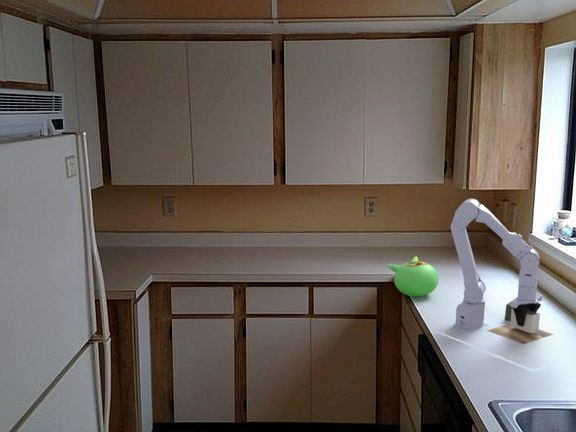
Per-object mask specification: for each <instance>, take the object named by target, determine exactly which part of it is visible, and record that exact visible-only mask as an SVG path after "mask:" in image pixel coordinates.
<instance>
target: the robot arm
mask: <svg viewBox="0 0 576 432" xmlns="http://www.w3.org/2000/svg"><path fill="white" fill-rule="evenodd" d="M474 220H475V222H478V223H483V224H485V225H486V226H488V228H490V229H491V230H492V231H493V232H494V233H496V235H497V236H499V237H500V238H501V239H502V246H503V247H504V248H505V249H507V250H508V252H510V253H511V255H513V256H514V257H515V258H516V259H518V260H519V264H520V270H519V277H518V287H517V288H518V289H517V296H516V297H515V298H514V299H512V300H510V301H509V302H510V307H512V309H513V311H514V313H515V317H516V321H517V325H519V326H522V327H523V326H524V323H525V318H526V314H527V312H528V310H530V311H533V312H536V313H538V310H539V309H540V308H541V307H542V305H541V303H540V302H542V301H543V295H542V294H540V293H537V290H538V278H539V273H538V271H539V265H540V254H539V252H538V251H537V249H535V248H533V246H532V245H530V244H528V243H527V242H526V241H525V240H524V239H523V236H522V235H521V233H516V232H511V231H509V230H508V229H507V228H506V227H505V226H504V225H503V223H501V221H500V220H499V219H498V218H497V217H496V216H495V215H494V214H493V213H492V212H491V211H490V210H489V209H488V208H487V207H485V205H483V204H481V203H480V201H478V199H475V198H467V199H465V200H464V201H463V202H462V203H461V204H460V205H459V206H458V207H457V209H456V210H455V212H454V216H453V219H452V222H451V224H450V230H451V234H452V239H453V243H454V245H455V250H456V253H457V257H458V261H459V263H460V268H461V273H462V275H463V286H464V291H463V299H462V302H460V303H459V304H458V305H457V306H456V310H455V311H456V312H455V322H453V325H456V326H459V327H461V328H464V329H466V330H469V331H474V330H478V329H481V328H484V327H488V326H489V324H488V323H485V309H486V308H485V307H486V299H485V298H484V294H485V292H486V290H487V289H486V284H485V283H484V281H483V280H482V279H481V275H480V273H479V272H478V268H477V265H476V261H475V257H474V253H473V251H472V247H471V243H470V239H469V234H468V231H467V227H468V225H469V224H470V222H471V223H472V221H474Z"/></svg>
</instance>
